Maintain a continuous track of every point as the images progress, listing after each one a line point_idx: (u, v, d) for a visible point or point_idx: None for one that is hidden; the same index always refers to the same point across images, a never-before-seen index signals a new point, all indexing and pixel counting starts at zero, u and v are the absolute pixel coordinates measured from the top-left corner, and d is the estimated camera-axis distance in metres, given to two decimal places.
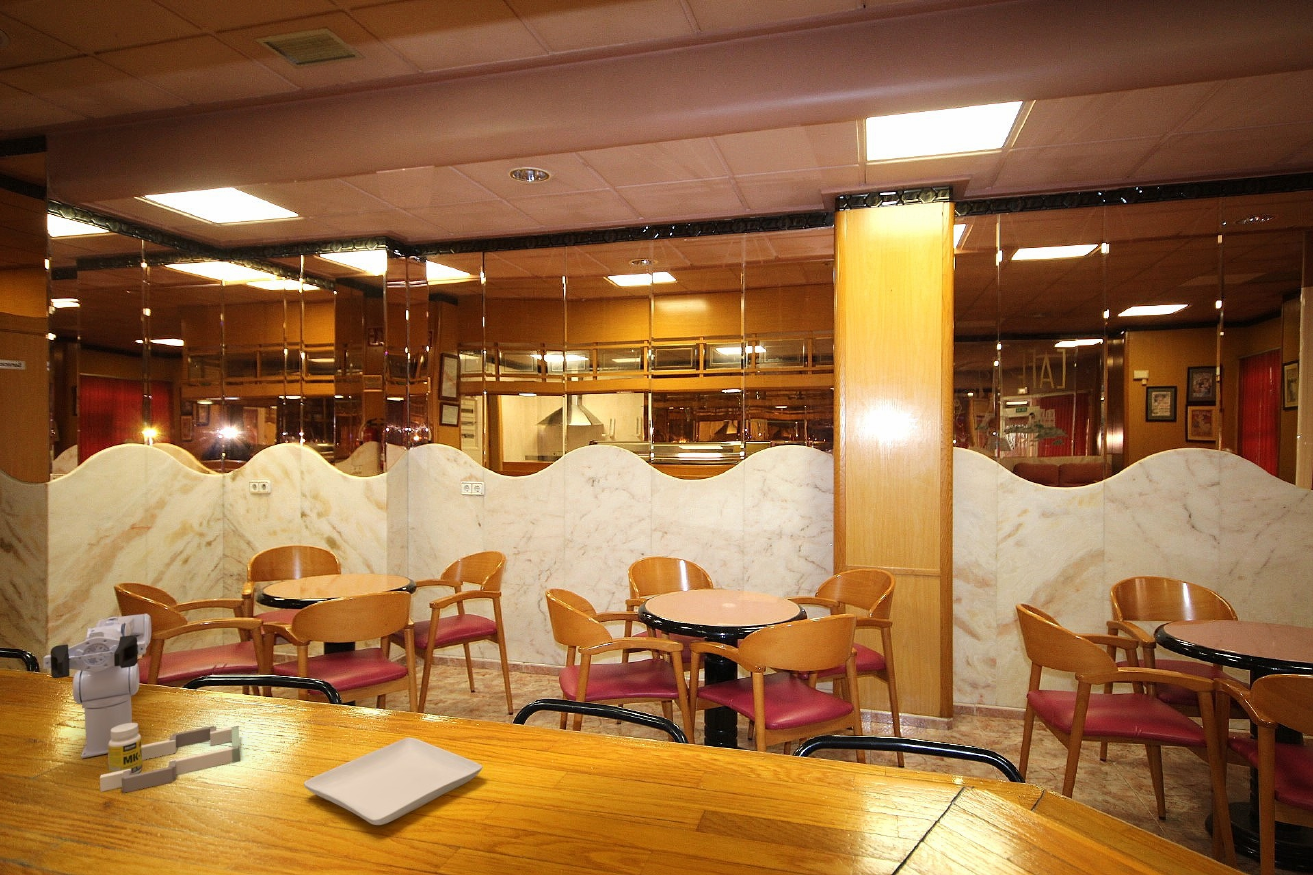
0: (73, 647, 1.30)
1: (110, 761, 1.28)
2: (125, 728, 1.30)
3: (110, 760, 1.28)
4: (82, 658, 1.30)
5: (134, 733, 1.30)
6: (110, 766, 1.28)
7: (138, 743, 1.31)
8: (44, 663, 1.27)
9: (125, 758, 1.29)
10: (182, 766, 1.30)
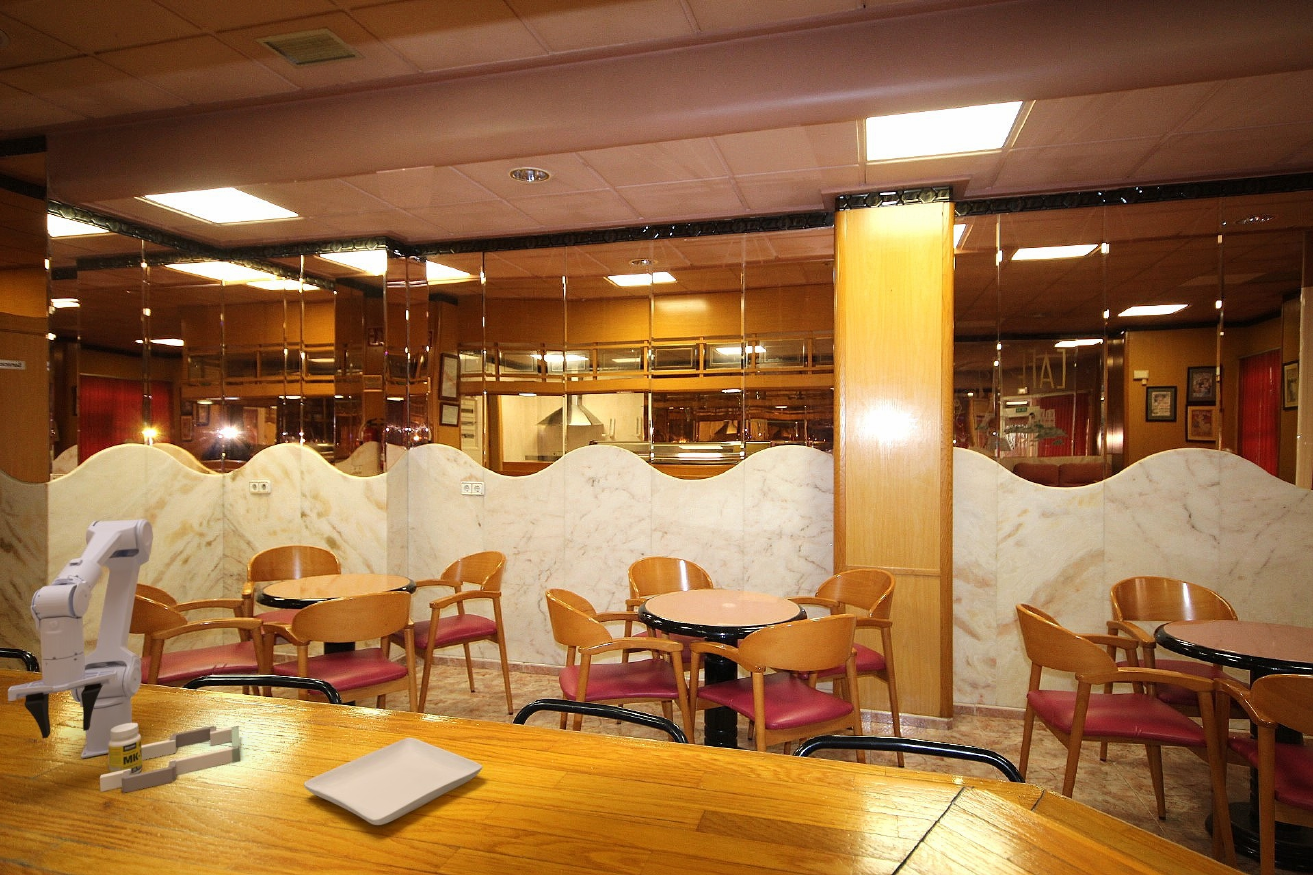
0: None
1: (110, 761, 1.28)
2: (125, 728, 1.30)
3: (110, 760, 1.28)
4: None
5: (134, 733, 1.30)
6: (110, 766, 1.28)
7: (138, 743, 1.31)
8: None
9: (125, 758, 1.29)
10: (182, 766, 1.30)
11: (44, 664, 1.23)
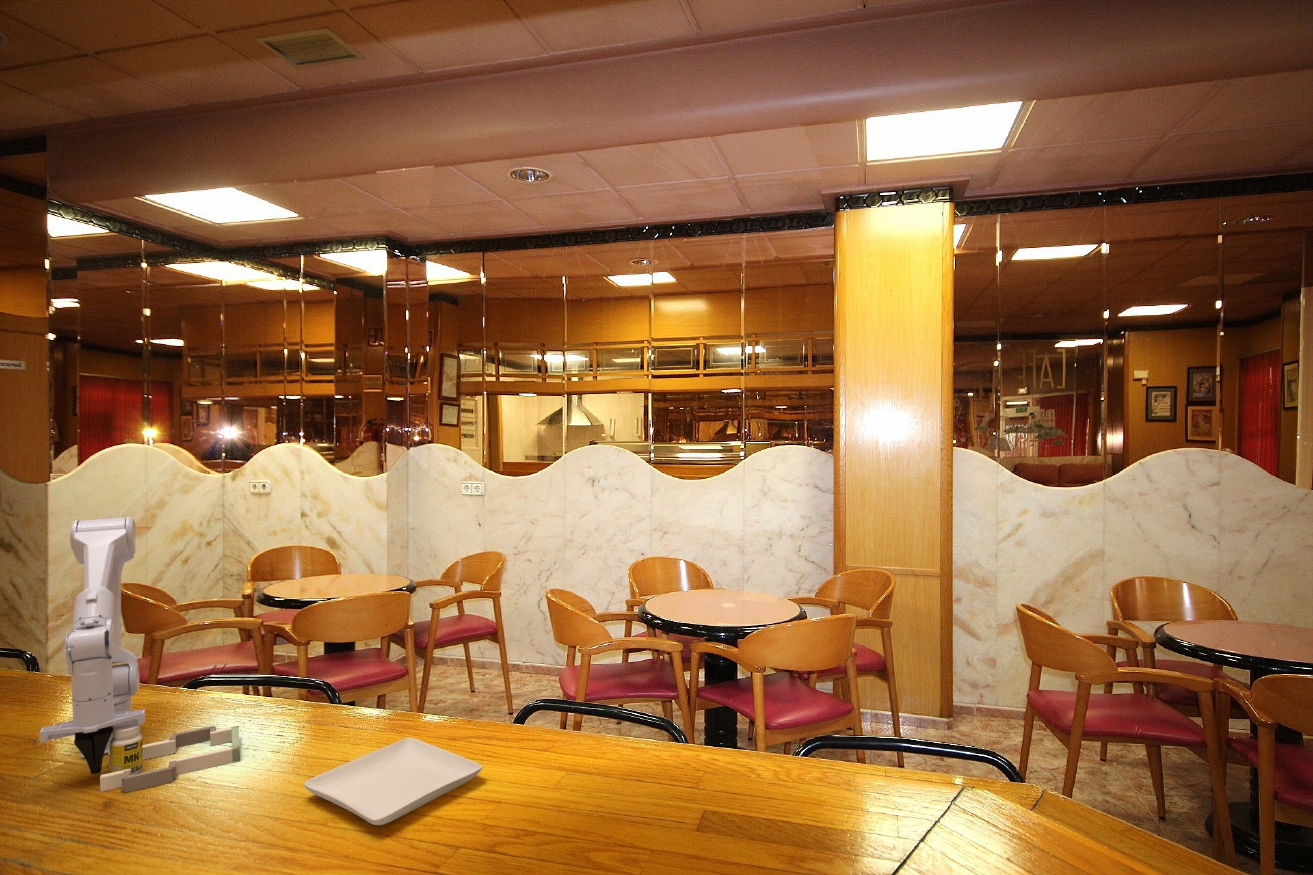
0: (68, 732, 1.25)
1: (111, 760, 1.28)
2: (127, 727, 1.30)
3: (111, 759, 1.28)
4: None
5: (136, 732, 1.30)
6: (111, 765, 1.28)
7: (139, 743, 1.31)
8: None
9: (126, 757, 1.29)
10: (182, 766, 1.30)
11: (75, 706, 1.25)
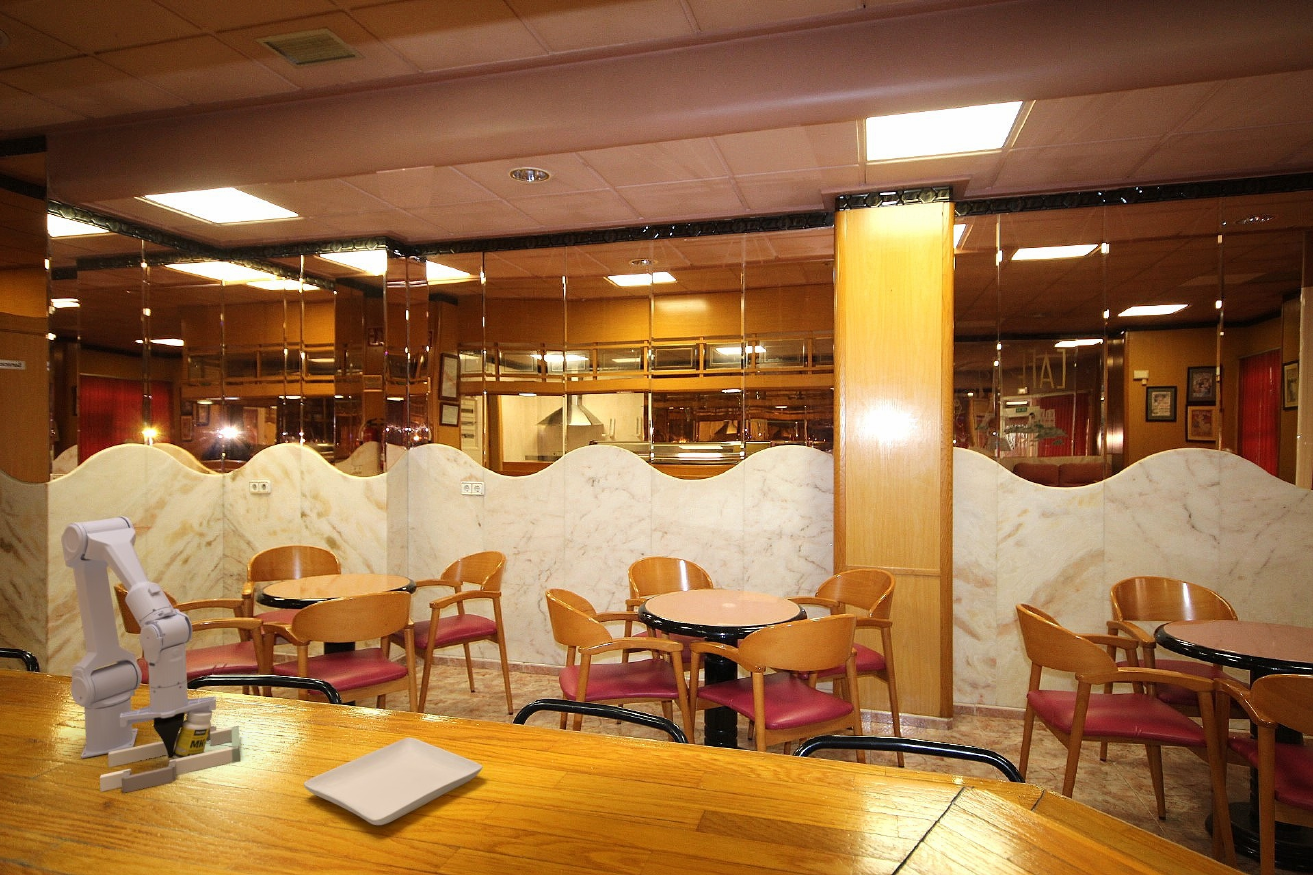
0: (146, 717, 1.30)
1: (179, 741, 1.33)
2: (201, 712, 1.35)
3: (179, 740, 1.33)
4: None
5: (207, 720, 1.35)
6: (177, 746, 1.33)
7: (207, 730, 1.36)
8: None
9: (193, 742, 1.34)
10: (182, 766, 1.30)
11: (152, 692, 1.31)
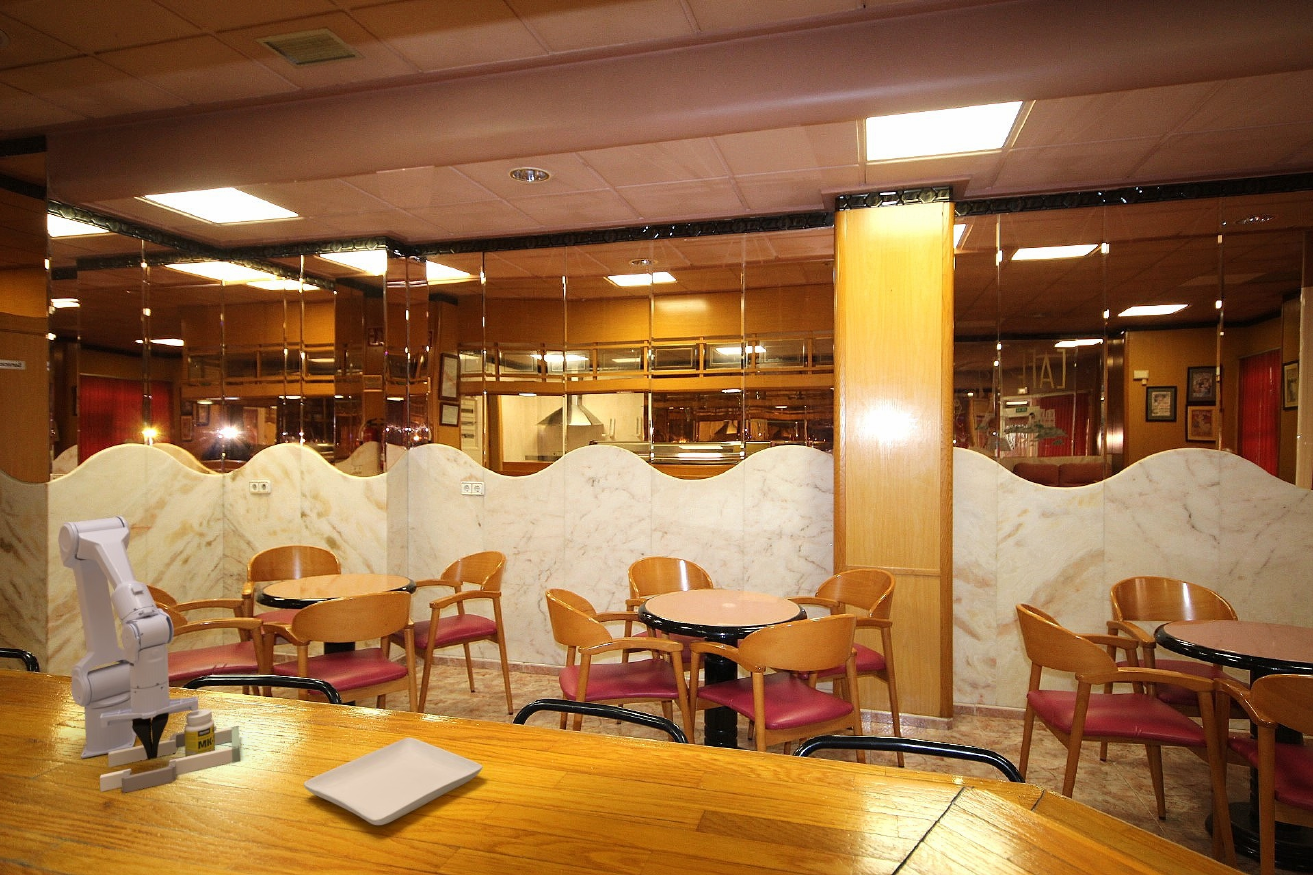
0: None
1: (186, 745, 1.34)
2: (200, 714, 1.35)
3: (186, 744, 1.34)
4: None
5: (208, 719, 1.36)
6: (186, 750, 1.34)
7: (211, 728, 1.36)
8: None
9: (200, 742, 1.34)
10: (182, 766, 1.30)
11: (133, 692, 1.29)
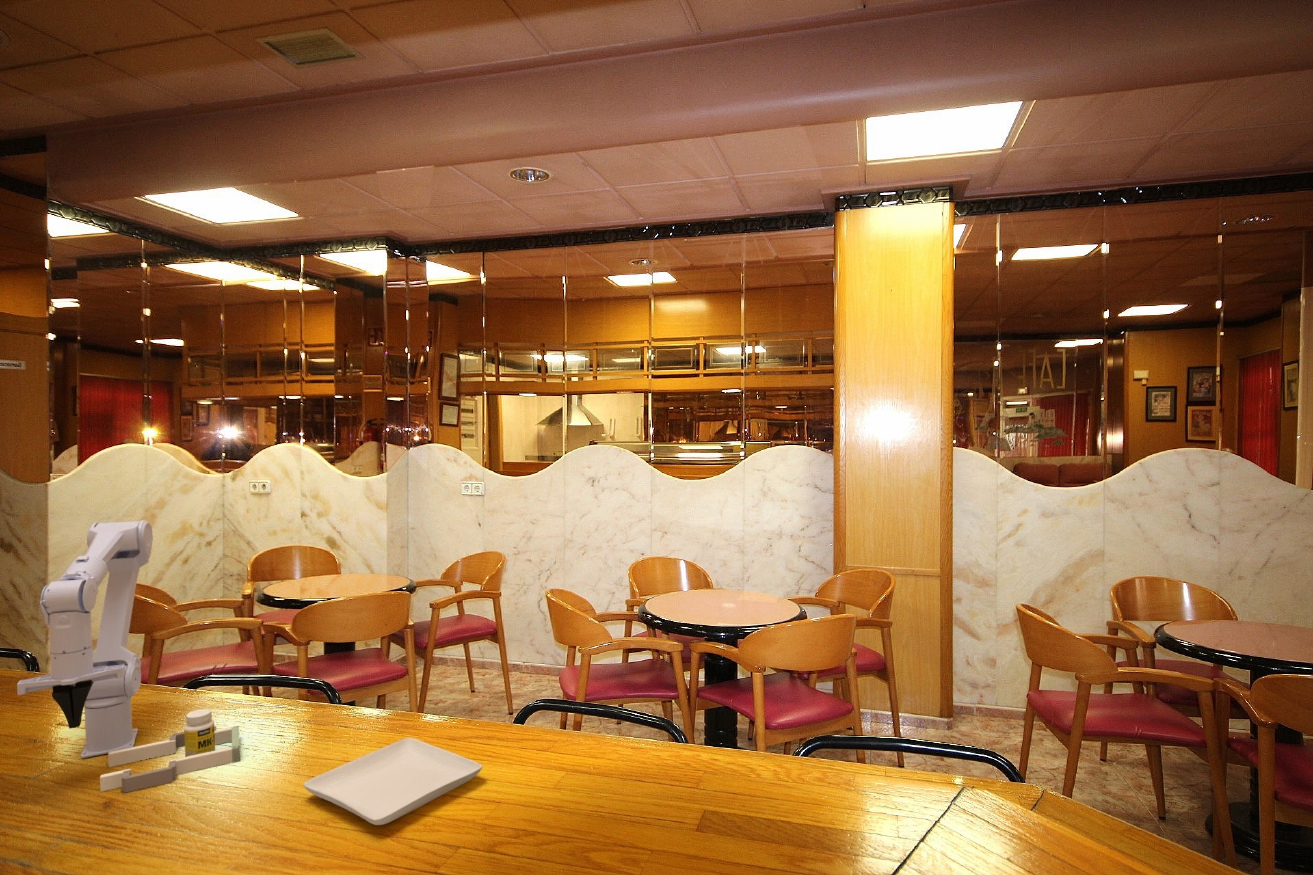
0: None
1: (186, 745, 1.34)
2: (200, 713, 1.35)
3: (186, 744, 1.34)
4: None
5: (208, 719, 1.36)
6: (186, 750, 1.34)
7: (211, 728, 1.36)
8: None
9: (199, 742, 1.34)
10: (182, 766, 1.30)
11: (53, 658, 1.24)
